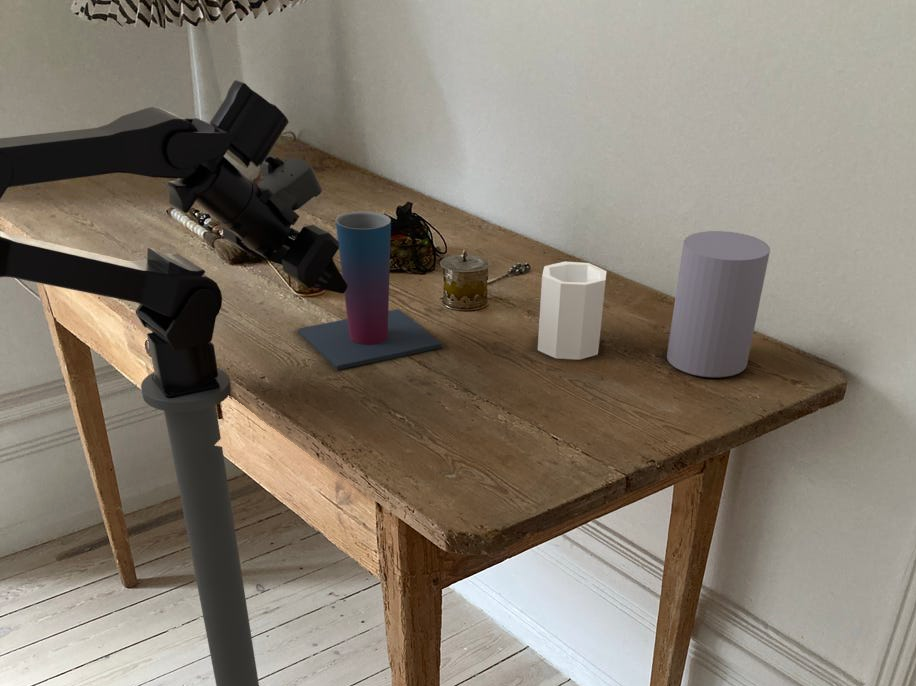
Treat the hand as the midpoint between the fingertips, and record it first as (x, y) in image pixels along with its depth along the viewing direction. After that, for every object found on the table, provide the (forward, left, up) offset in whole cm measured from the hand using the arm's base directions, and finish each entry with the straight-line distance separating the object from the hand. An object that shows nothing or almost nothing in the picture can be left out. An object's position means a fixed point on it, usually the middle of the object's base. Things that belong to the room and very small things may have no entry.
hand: (324, 278), depth 128 cm
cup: (+6, +1, -9) cm, 11 cm away
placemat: (+6, +1, -10) cm, 11 cm away
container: (+42, -25, -10) cm, 50 cm away
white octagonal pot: (+29, -11, -10) cm, 33 cm away
